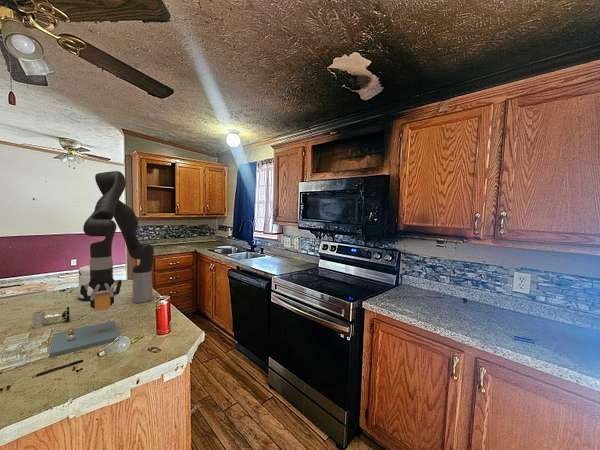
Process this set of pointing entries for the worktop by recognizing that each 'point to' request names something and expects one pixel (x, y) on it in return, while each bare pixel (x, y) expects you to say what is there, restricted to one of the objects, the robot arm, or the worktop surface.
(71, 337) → the peg
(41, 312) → the valve
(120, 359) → the worktop surface
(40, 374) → the black thin rod
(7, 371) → the worktop surface
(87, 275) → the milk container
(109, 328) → the board
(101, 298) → the cap
